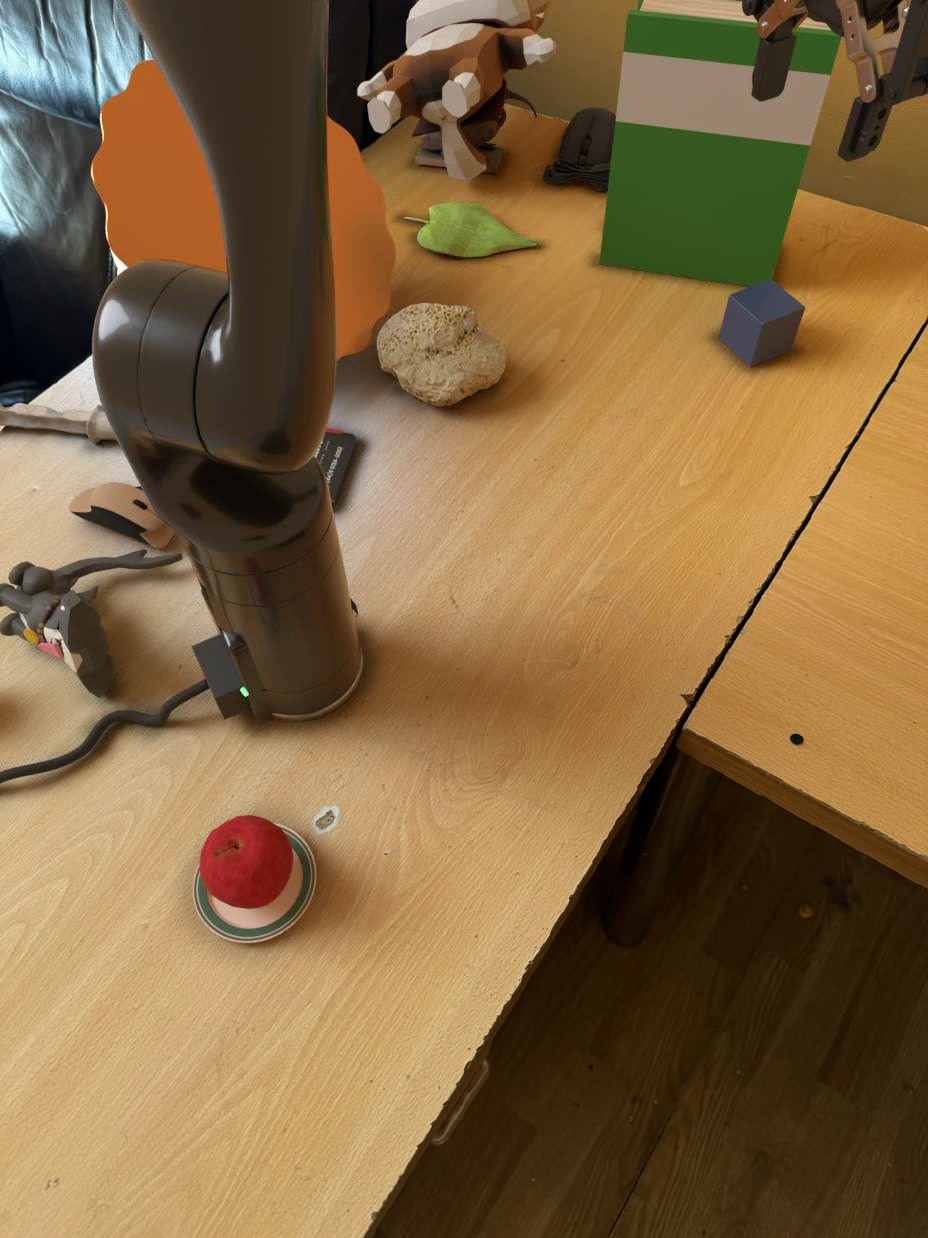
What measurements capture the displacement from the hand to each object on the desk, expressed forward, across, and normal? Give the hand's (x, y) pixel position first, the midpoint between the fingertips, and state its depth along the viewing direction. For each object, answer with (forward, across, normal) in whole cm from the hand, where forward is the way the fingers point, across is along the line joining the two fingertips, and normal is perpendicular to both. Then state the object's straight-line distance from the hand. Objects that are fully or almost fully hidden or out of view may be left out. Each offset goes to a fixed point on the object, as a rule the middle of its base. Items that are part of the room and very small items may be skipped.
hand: (808, 125), depth 61 cm
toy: (+17, -43, -8) cm, 47 cm away
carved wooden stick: (+28, -27, -47) cm, 61 cm away
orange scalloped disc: (+14, -31, -29) cm, 45 cm away
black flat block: (+28, -12, -31) cm, 43 cm away
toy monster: (+26, -10, -60) cm, 66 cm away
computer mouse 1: (+28, -17, -48) cm, 59 cm away
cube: (+28, -9, +11) cm, 32 cm away
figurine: (+28, -52, +4) cm, 59 cm away
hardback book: (+28, -24, +14) cm, 40 cm away
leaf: (+28, -38, -5) cm, 48 cm away
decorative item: (+28, -20, -18) cm, 39 cm away
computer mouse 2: (+28, -46, +16) cm, 56 cm away
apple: (+28, +18, -51) cm, 61 cm away
